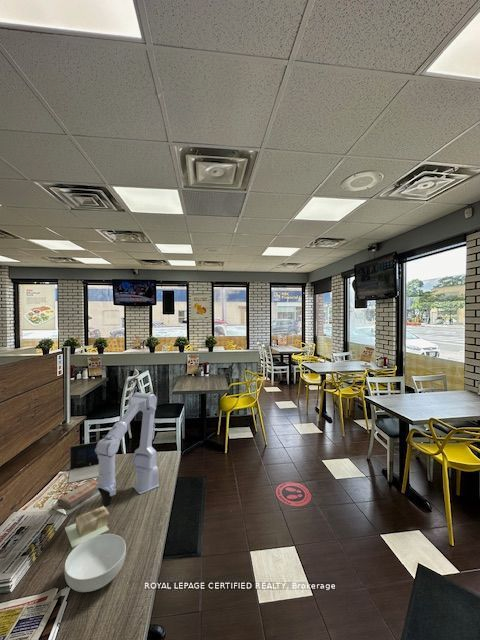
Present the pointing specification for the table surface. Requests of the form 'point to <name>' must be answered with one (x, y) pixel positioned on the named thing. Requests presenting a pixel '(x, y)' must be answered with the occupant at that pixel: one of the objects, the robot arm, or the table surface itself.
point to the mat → (76, 539)
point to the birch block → (92, 521)
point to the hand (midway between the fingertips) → (106, 505)
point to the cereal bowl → (95, 562)
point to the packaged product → (77, 497)
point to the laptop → (83, 462)
